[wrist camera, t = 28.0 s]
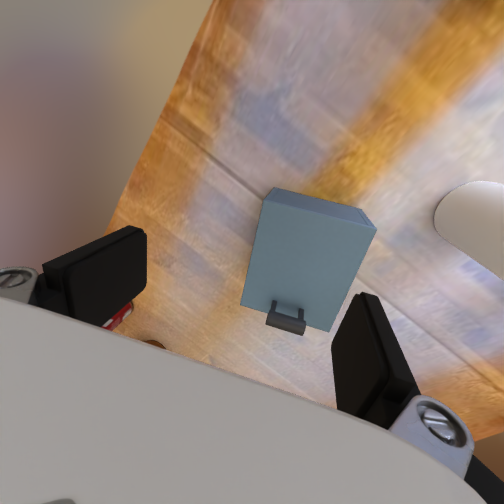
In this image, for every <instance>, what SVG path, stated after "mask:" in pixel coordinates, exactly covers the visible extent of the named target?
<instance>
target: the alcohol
mask: <svg viewBox="0 0 504 504" xmlns="http://www.w3.org/2000/svg"><path fill="white" fill-rule="evenodd" d="M434 224H435V228H436V230H437V232H438V233H439V235H440V236H442V237H443V238H444V239H445V240H447V241H448V242H450V243H451V244H452V245H454V246H455V247H457V248H458V249H460V250H461V251H462V252H464V253H465V254H467V255H468V256H470V257H471V258H472V259H474V260H475V261H477V262H478V263H479V264H481V265H482V266H484V267H485V268H487V269H488V270H489V271H491V272H492V273H494V274H495V275H497V276H498V277H499V278H501V279H502V280H504V184H500V183H495V182H490V181H476V182H471V183H467V184H464V185H462V186H460V187H457V188H456V189H454V190H453V191H451V192H450V193H449V194H448V195H446V196H445V197H444V199H443V200H442V201H441V202H440V204H439V205H438V207H437V209H436V212H435V216H434Z"/></svg>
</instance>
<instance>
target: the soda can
mask: <svg viewBox="0 0 504 504" xmlns="http://www.w3.org/2000/svg"><path fill="white" fill-rule="evenodd" d="M131 312H132V304H131V302H129V303H128V304H127V305H126V306H125V307H123V308H122V309H121V310H120V311H119V312H118V313H117V314H115V315H114V316H113V317H112V318H111V319H110V320H109V321H107V322H106V323H105V324H104V325H103V326H102V327H101V328H103V329H106V330H109V331H113V330H114V329H115V328H116V327H117V326H118V325H119V324H120V323H121V322H122V321H123V320H124V319H125V318H126V317H127V316H128V315H129V314H130V313H131Z"/></svg>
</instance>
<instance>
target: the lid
mask: <svg viewBox="0 0 504 504" xmlns="http://www.w3.org/2000/svg"><path fill="white" fill-rule="evenodd" d="M376 231H377V229H376V227H372V226H369V225H365V224H361V223H357V222H353V221H349V220H345V219H341V218H337V217H333V216H329V215H326V214H322V213H318V212H314V211H310V210H306V209H302V208H298V207H294V206H290V205H286V204H282V203H279V202H275V201H271V200H267V199H264V200H263V205H262V209H261V214H260V218H259V222H258V227H257V231H256V236H255V240H254V245H253V249H252V254H251V258H250V263H249V267H248V272H247V276H246V280H245V285H244V289H243V294H242V298H241V303H240V305H242V306H245V307H248V308H252V309H255V310H258V311H261V312H265V313H268V316H267V320H266V325H269V326H272V327H275V328H278V329H281V330H285V331H288V332H291V333H294V334H297V335H300V336H303V334H304V332H305V328H306V325H307V326H310V327H313V328H316V329H320V330H323V331H326V332H329V331H330V329H331V327H332V325H333V323H334V321H335V319H336V316H337V314H338V312H339V310H340V308H341V306H342V304H343V301H344V299H345V297H346V295H347V293H348V291H349V289H350V286H351V284H352V282H353V280H354V278H355V276H356V273H357V271H358V269H359V267H360V265H361V263H362V261H363V258H364V256H365V254H366V252H367V250H368V248H369V246H370V243H371V241H372V239H373V237H374V235H375V233H376Z"/></svg>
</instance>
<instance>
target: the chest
mask: <svg viewBox="0 0 504 504" xmlns="http://www.w3.org/2000/svg"><path fill="white" fill-rule="evenodd" d="M265 199H267V200H271V201H275V202H279V203H282V204H286V205H290V206H294V207H298V208H302V209H306V210H310V211H314V212H318V213H322V214H326V215H329V216H333V217H337V218H341V219H345V220H349V221H353V222H357V223H361V224H365V225H369V226H372V227H375V226H374V225H373V224H372V222H371V221H370V220H369V219H368V217H367V216H366V215H365V213H364V212H363V211H362V209H359V208H355V207H351V206H347V205H343V204H339V203H335V202H331V201H327V200H323V199H319V198H315V197H311V196H307V195H303V194H299V193H295V192H291V191H287V190H283V189H279V188H275V187H274V188H273V189H272V191H271V192H270V193H269V194H268V195H267V197H266V198H265Z"/></svg>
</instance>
